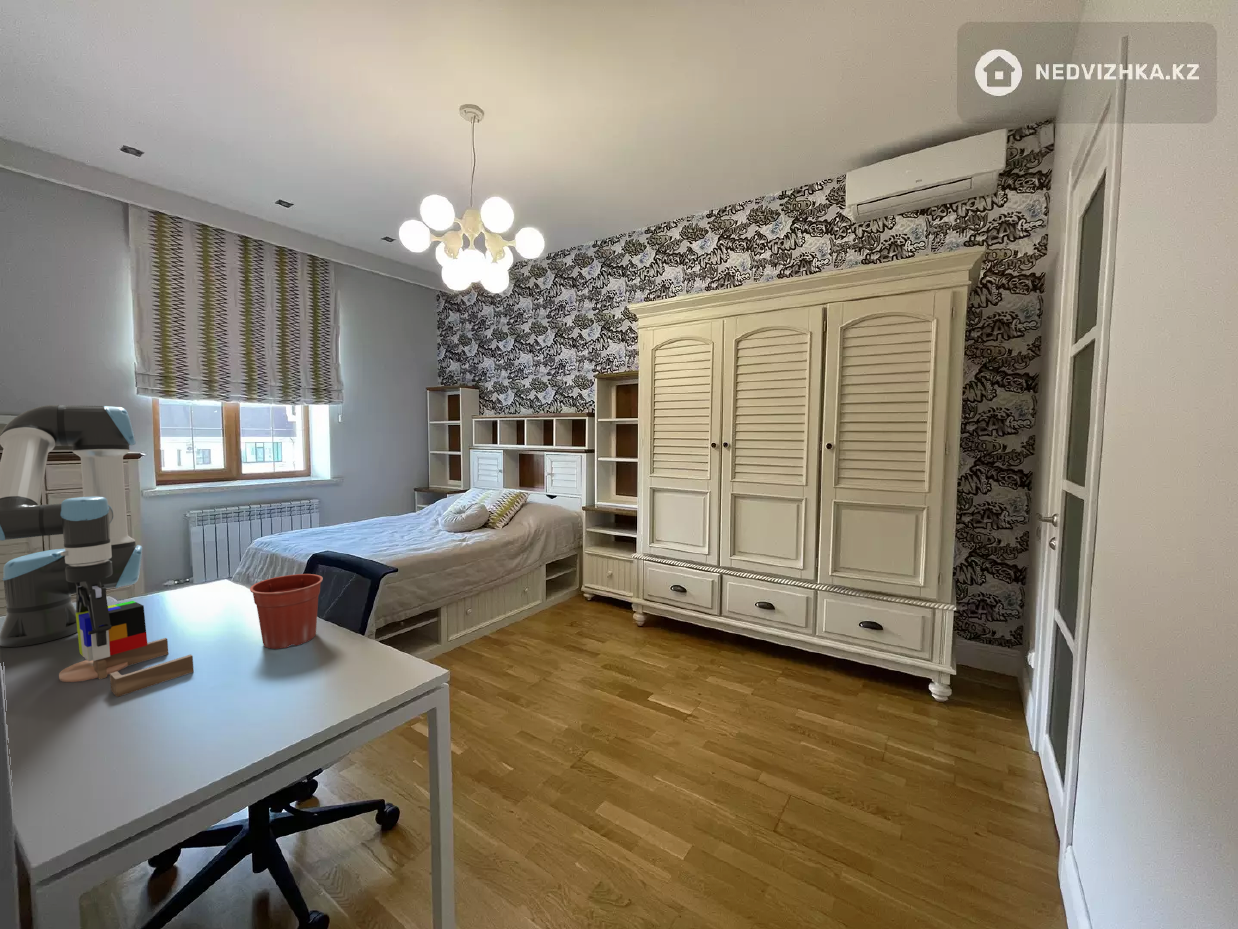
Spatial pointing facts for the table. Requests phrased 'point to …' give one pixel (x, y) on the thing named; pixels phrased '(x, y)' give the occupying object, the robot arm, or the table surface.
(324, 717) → the table surface
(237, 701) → the table surface
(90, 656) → the puzzle toy
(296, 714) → the table surface
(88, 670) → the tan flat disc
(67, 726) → the table surface
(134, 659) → the pocket frame
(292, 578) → the flower pot
